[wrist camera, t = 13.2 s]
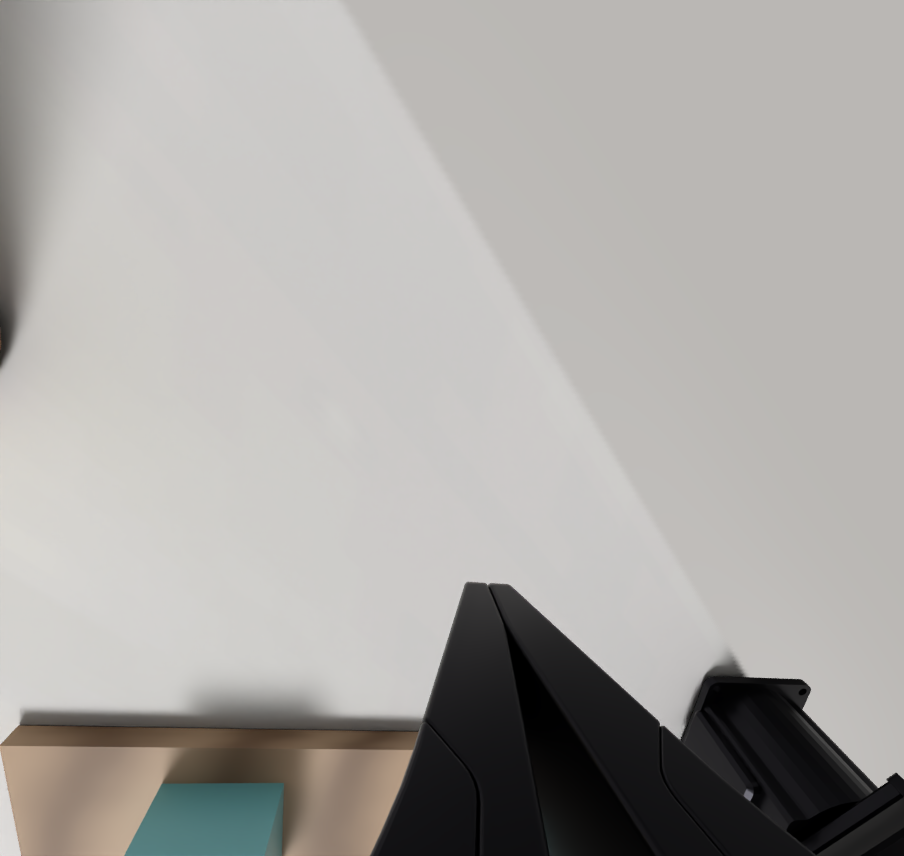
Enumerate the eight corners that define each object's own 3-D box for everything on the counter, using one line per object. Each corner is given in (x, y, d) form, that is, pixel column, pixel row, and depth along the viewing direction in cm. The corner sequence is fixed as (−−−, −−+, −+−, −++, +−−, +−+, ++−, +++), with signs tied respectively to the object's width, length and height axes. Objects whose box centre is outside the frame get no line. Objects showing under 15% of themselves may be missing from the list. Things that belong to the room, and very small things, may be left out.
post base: (420, 731, 23) (422, 803, 20) (400, 865, 26) (398, 948, 23) (18, 725, 21) (-58, 806, 17) (45, 874, 24) (-16, 968, 20)
